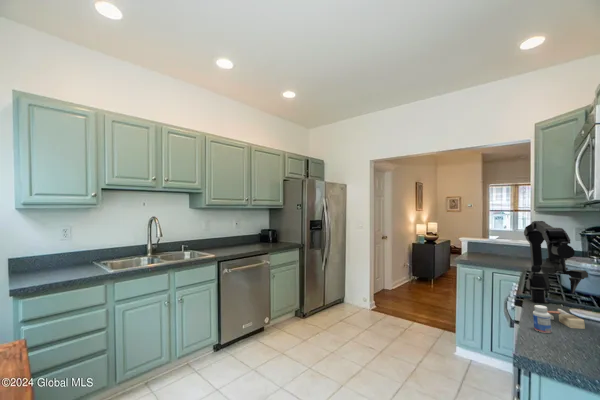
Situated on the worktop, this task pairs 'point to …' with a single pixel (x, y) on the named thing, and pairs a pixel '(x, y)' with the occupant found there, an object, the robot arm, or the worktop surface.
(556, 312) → the channel
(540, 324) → the pill bottle
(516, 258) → the worktop surface
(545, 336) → the worktop surface
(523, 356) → the worktop surface
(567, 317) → the birch block
